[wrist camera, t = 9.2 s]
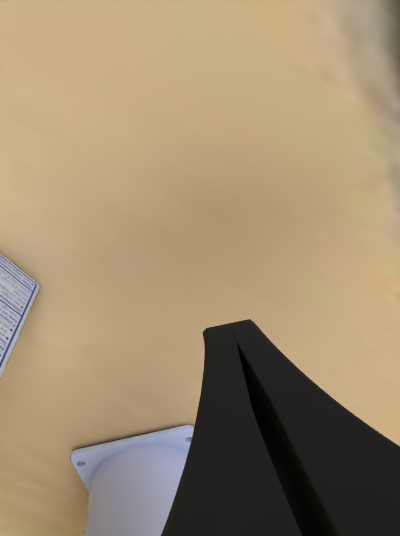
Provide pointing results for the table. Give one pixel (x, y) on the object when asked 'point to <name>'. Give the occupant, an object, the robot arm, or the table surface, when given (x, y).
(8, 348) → the medicine box
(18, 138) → the table surface
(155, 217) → the table surface
